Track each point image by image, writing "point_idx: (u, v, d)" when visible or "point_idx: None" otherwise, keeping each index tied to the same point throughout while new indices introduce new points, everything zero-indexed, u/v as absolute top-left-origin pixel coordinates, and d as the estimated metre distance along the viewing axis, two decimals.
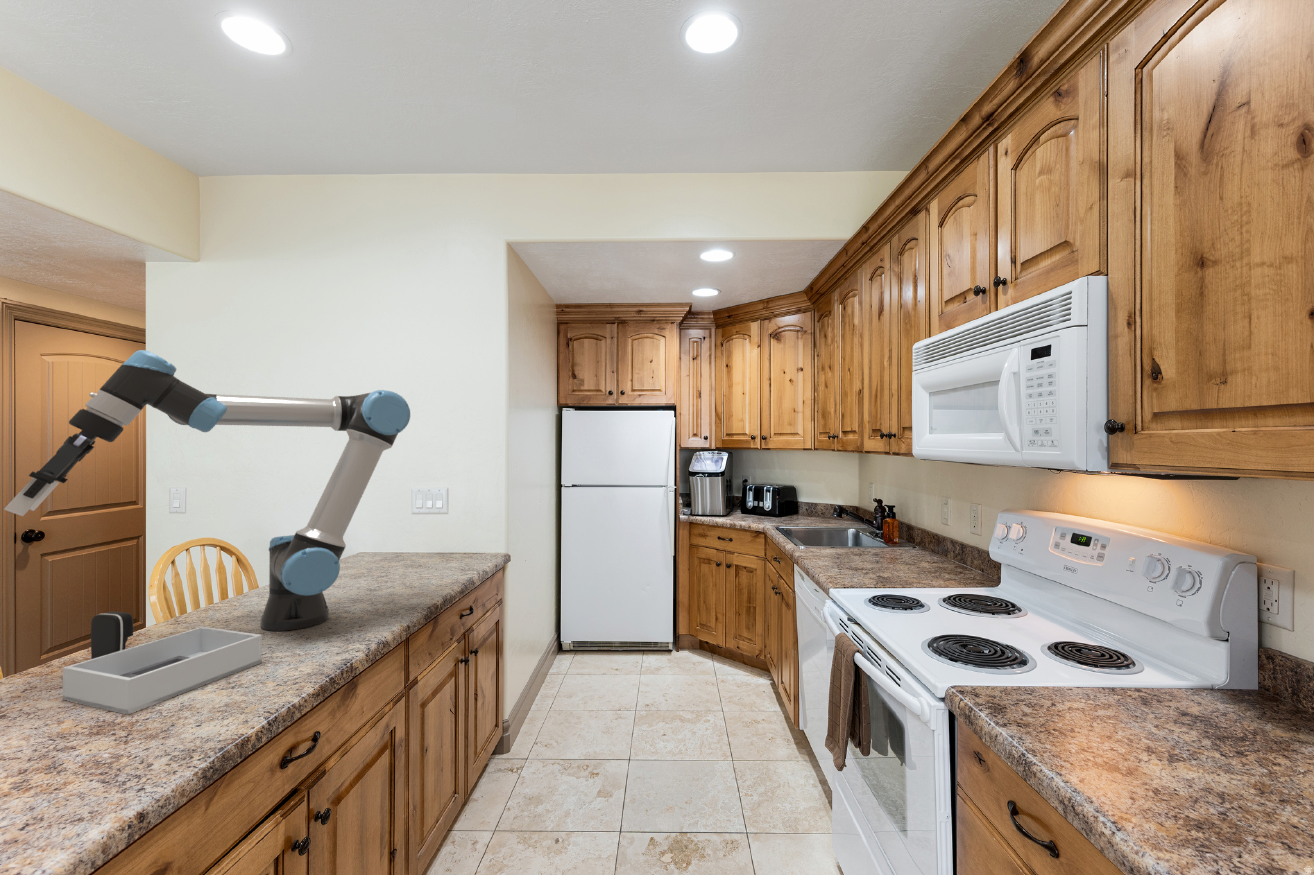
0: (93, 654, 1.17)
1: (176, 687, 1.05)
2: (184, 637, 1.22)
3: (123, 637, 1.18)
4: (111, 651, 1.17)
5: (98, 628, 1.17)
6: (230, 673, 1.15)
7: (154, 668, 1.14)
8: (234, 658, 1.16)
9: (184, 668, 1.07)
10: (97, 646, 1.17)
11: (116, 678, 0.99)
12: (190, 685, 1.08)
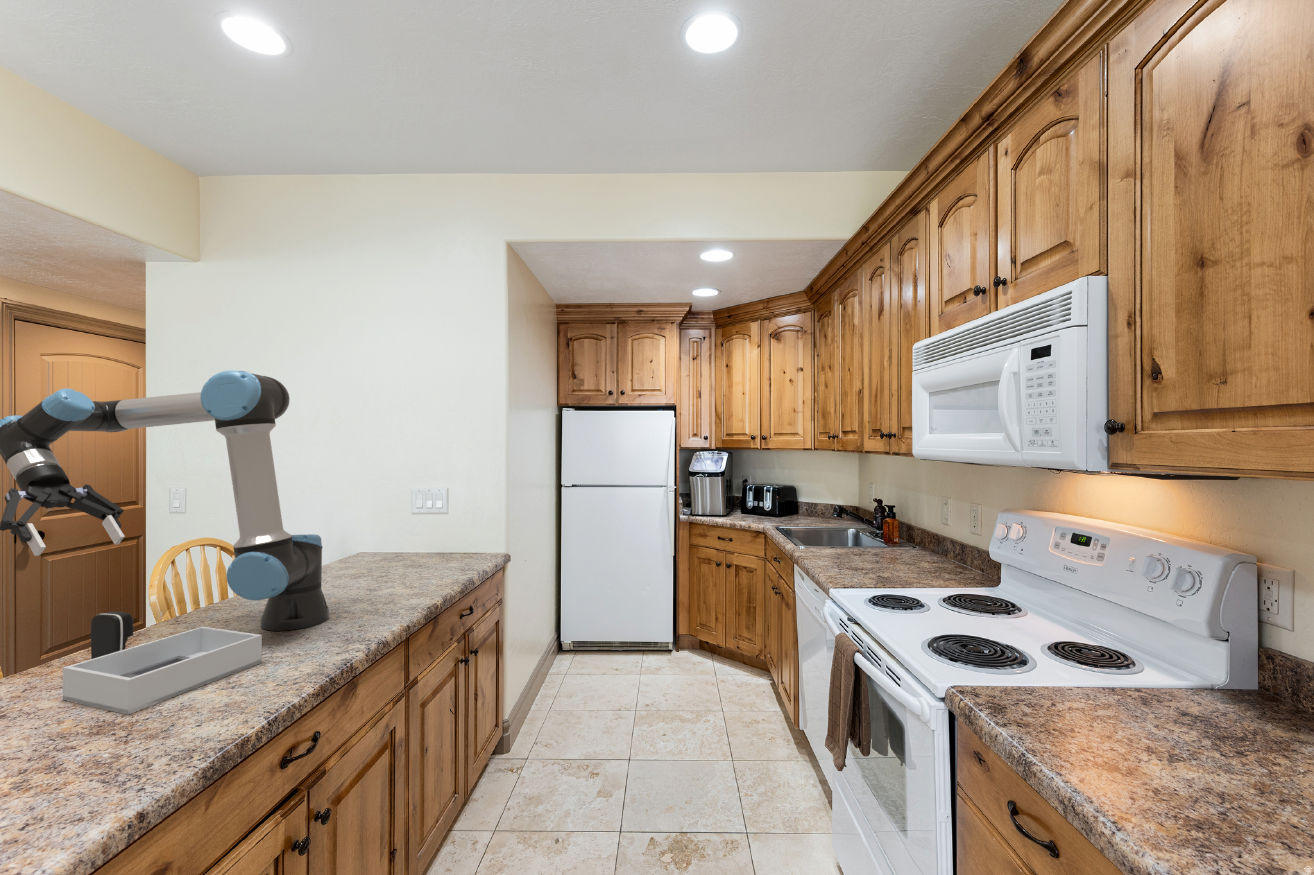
0: (93, 654, 1.17)
1: (176, 687, 1.05)
2: (184, 637, 1.22)
3: (123, 637, 1.18)
4: (111, 651, 1.17)
5: (98, 628, 1.17)
6: (230, 673, 1.15)
7: (154, 668, 1.14)
8: (234, 658, 1.16)
9: (184, 668, 1.07)
10: (97, 646, 1.17)
11: (116, 678, 0.99)
12: (190, 685, 1.08)
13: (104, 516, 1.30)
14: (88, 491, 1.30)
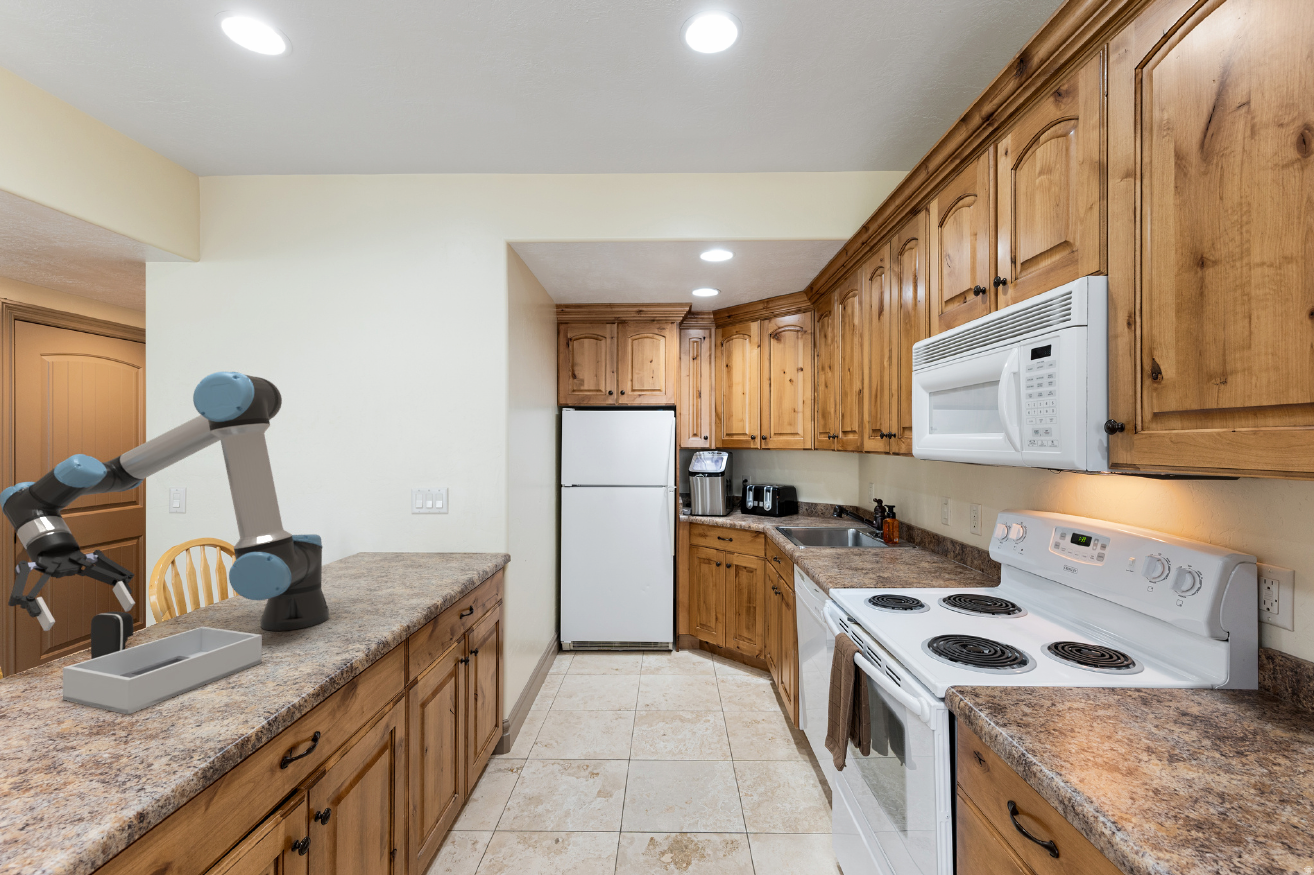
0: (93, 654, 1.17)
1: (176, 687, 1.05)
2: (184, 637, 1.22)
3: (123, 637, 1.18)
4: (111, 651, 1.17)
5: (98, 628, 1.17)
6: (230, 673, 1.15)
7: (154, 668, 1.14)
8: (234, 658, 1.16)
9: (184, 668, 1.07)
10: (97, 646, 1.17)
11: (116, 678, 0.99)
12: (190, 685, 1.08)
13: (115, 582, 1.29)
14: (98, 557, 1.29)
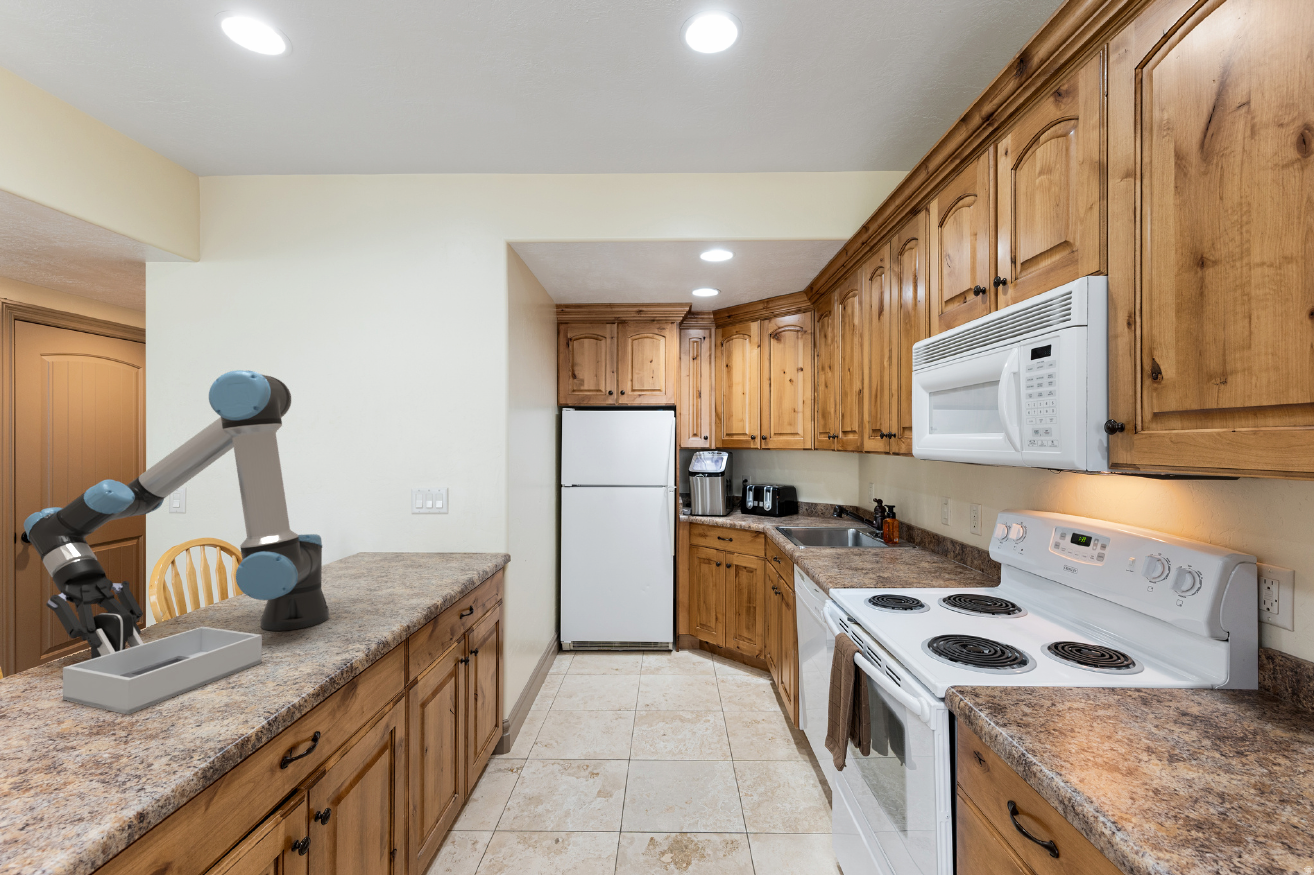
0: (93, 654, 1.17)
1: (176, 687, 1.05)
2: (184, 637, 1.22)
3: (123, 637, 1.18)
4: None
5: (98, 628, 1.17)
6: (230, 673, 1.15)
7: (154, 668, 1.14)
8: (234, 658, 1.16)
9: (184, 668, 1.07)
10: None
11: (116, 678, 0.99)
12: (190, 685, 1.08)
13: None
14: (122, 588, 1.26)
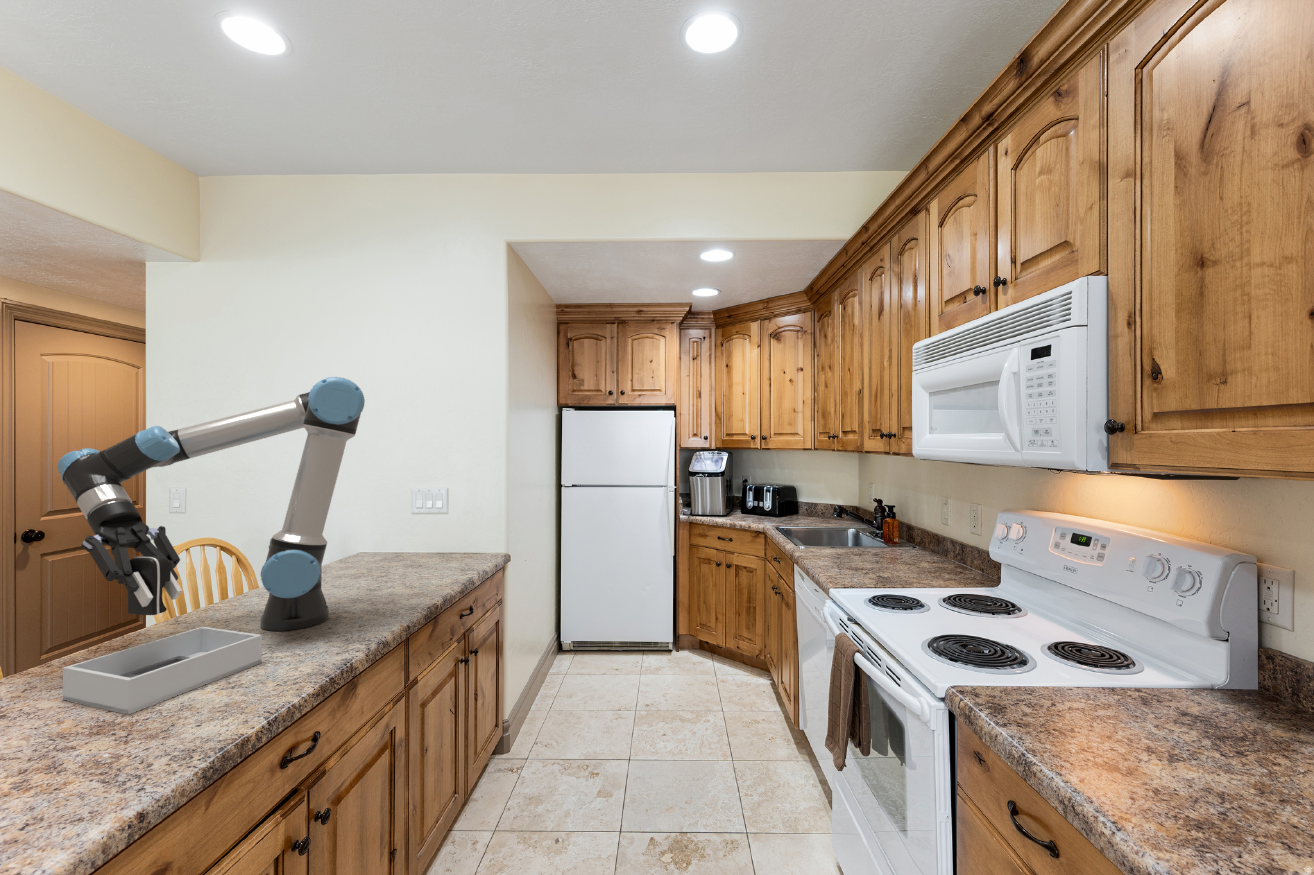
0: (130, 599, 1.11)
1: (176, 687, 1.05)
2: (184, 637, 1.22)
3: (160, 581, 1.11)
4: None
5: (134, 571, 1.11)
6: (230, 673, 1.15)
7: (154, 668, 1.14)
8: (234, 658, 1.16)
9: (184, 668, 1.07)
10: None
11: (116, 678, 0.99)
12: (190, 685, 1.08)
13: None
14: (158, 533, 1.19)
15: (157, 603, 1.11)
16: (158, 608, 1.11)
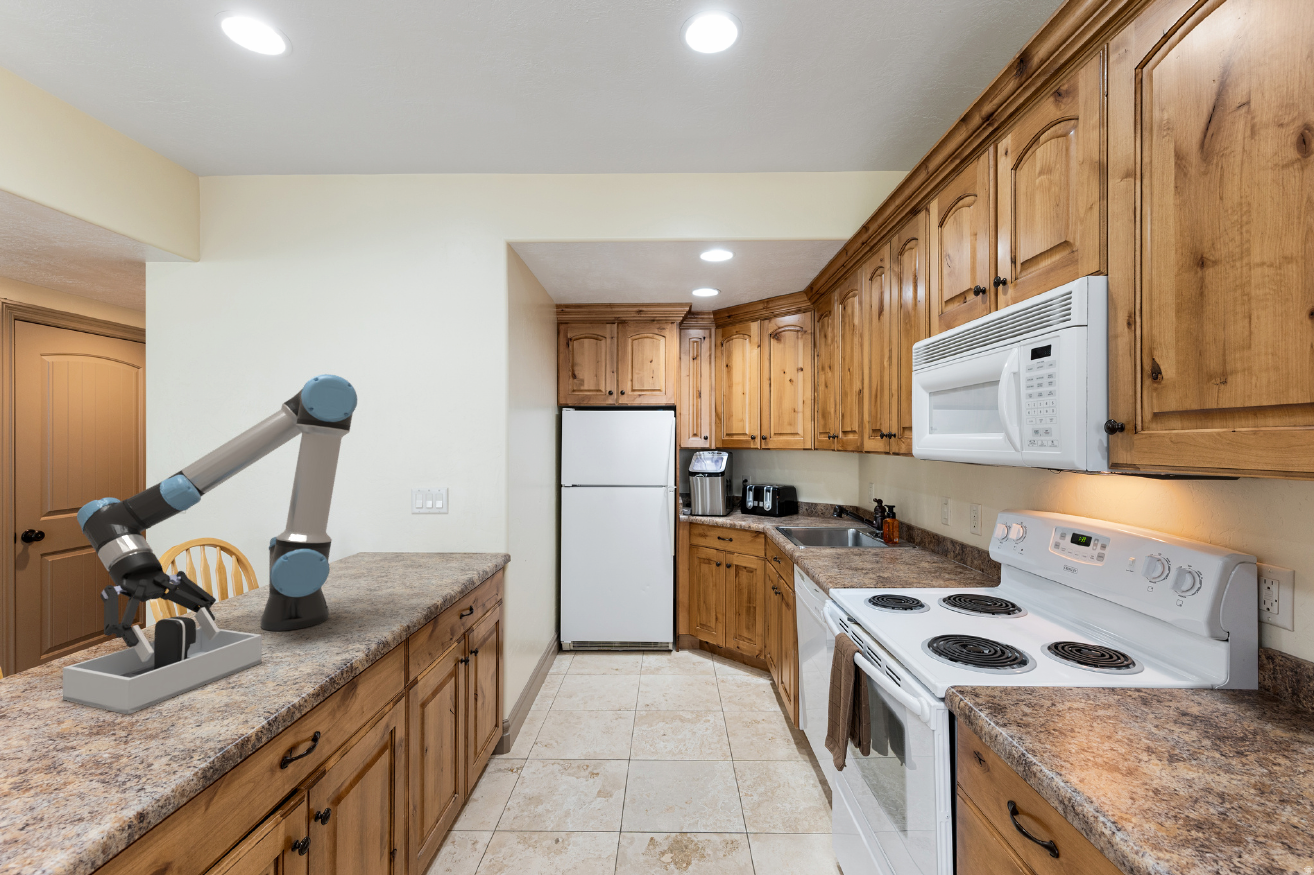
0: (156, 661, 1.11)
1: (176, 687, 1.05)
2: None
3: (185, 644, 1.11)
4: (173, 659, 1.10)
5: (161, 634, 1.11)
6: (230, 673, 1.15)
7: None
8: (234, 658, 1.16)
9: (184, 668, 1.07)
10: (160, 653, 1.11)
11: (116, 678, 0.99)
12: (190, 685, 1.08)
13: (196, 607, 1.19)
14: (181, 579, 1.20)
15: None
16: None
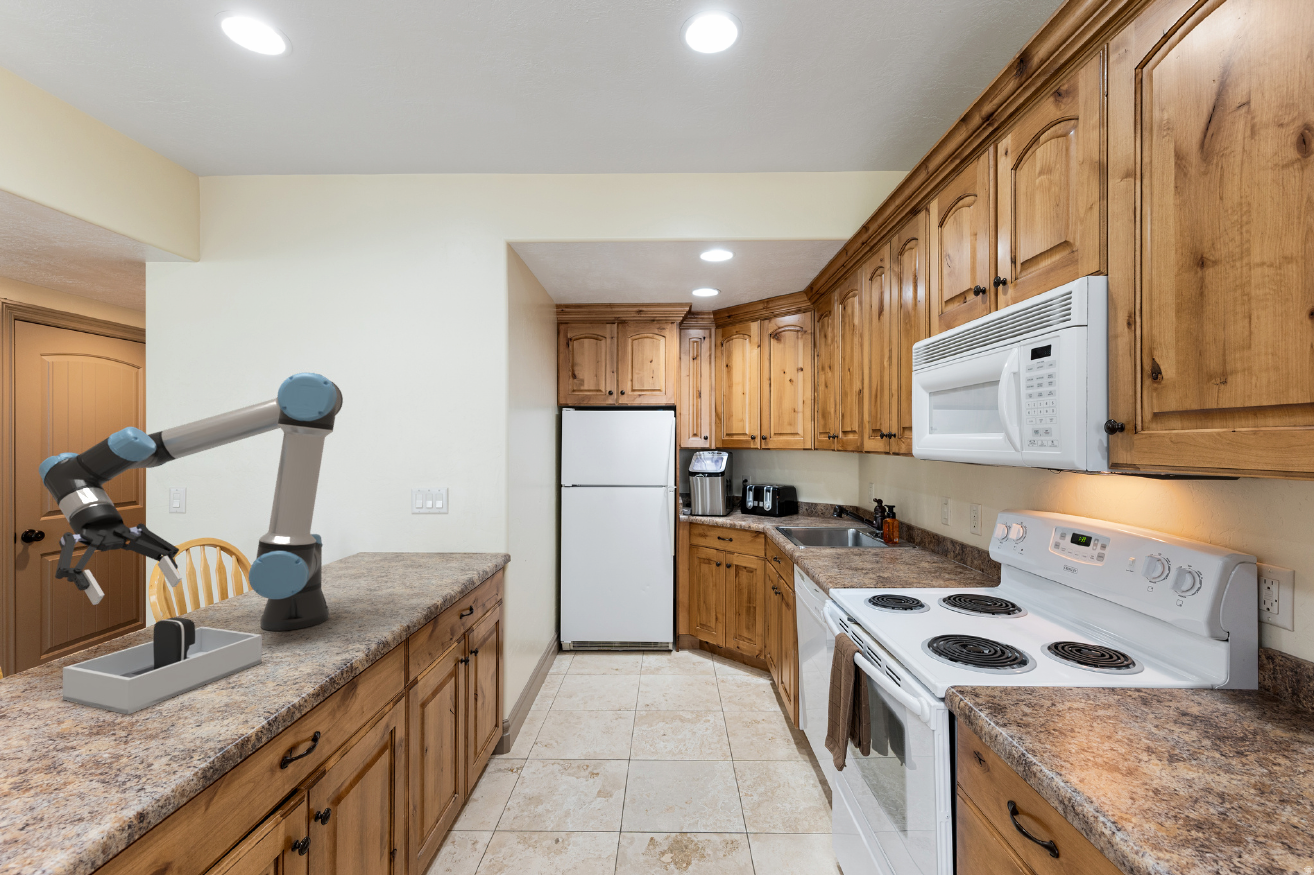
0: (155, 662, 1.11)
1: (176, 687, 1.05)
2: None
3: (184, 645, 1.11)
4: (173, 660, 1.10)
5: (160, 635, 1.11)
6: (230, 673, 1.15)
7: None
8: (234, 658, 1.16)
9: (184, 668, 1.07)
10: (160, 653, 1.11)
11: (116, 678, 0.99)
12: (190, 685, 1.08)
13: (159, 557, 1.24)
14: (142, 531, 1.23)
15: None
16: None
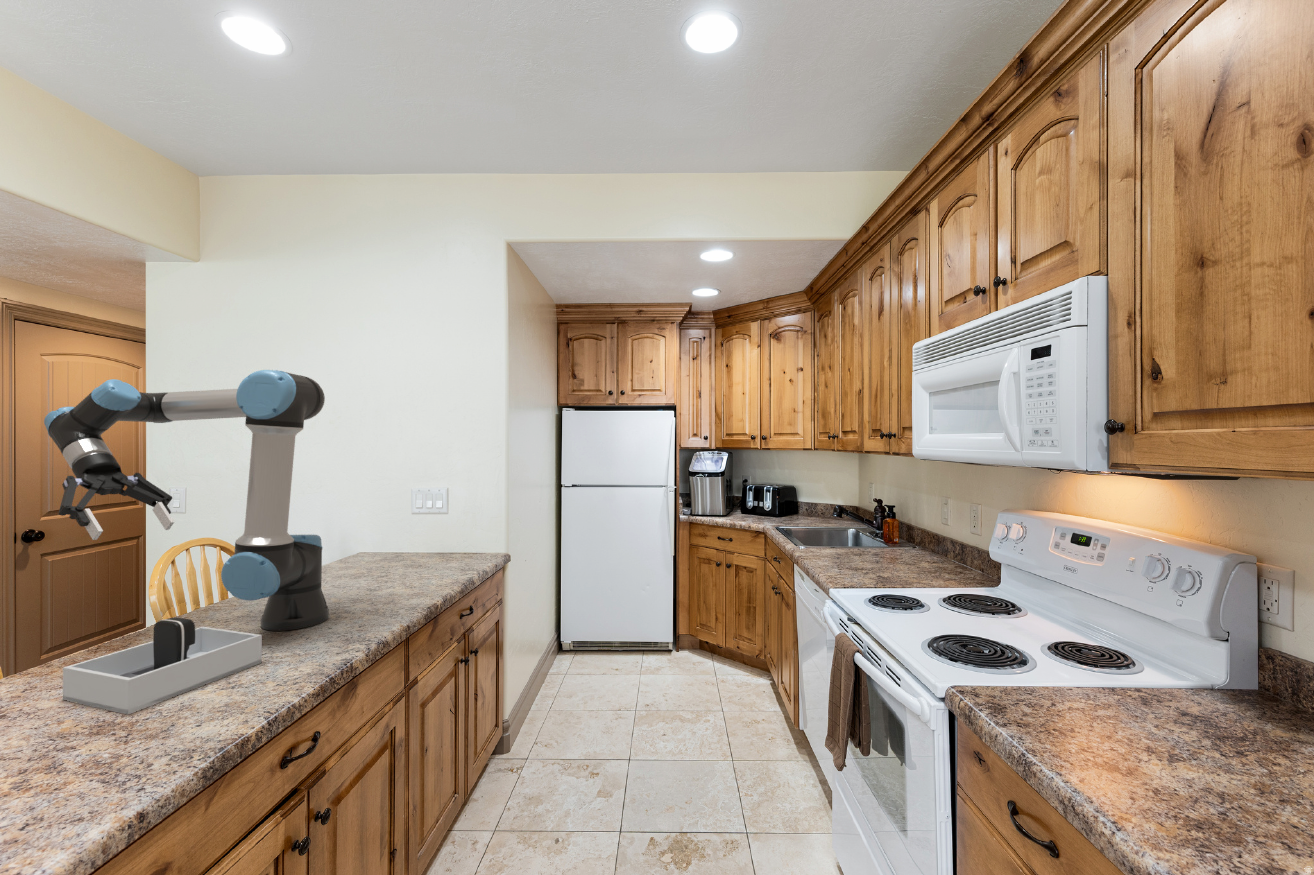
0: (155, 662, 1.11)
1: (176, 687, 1.05)
2: None
3: (184, 645, 1.11)
4: (173, 660, 1.10)
5: (160, 635, 1.11)
6: (230, 673, 1.15)
7: None
8: (234, 658, 1.16)
9: (184, 668, 1.07)
10: (160, 653, 1.11)
11: (116, 678, 0.99)
12: (190, 685, 1.08)
13: (154, 503, 1.35)
14: (138, 479, 1.34)
15: None
16: None
